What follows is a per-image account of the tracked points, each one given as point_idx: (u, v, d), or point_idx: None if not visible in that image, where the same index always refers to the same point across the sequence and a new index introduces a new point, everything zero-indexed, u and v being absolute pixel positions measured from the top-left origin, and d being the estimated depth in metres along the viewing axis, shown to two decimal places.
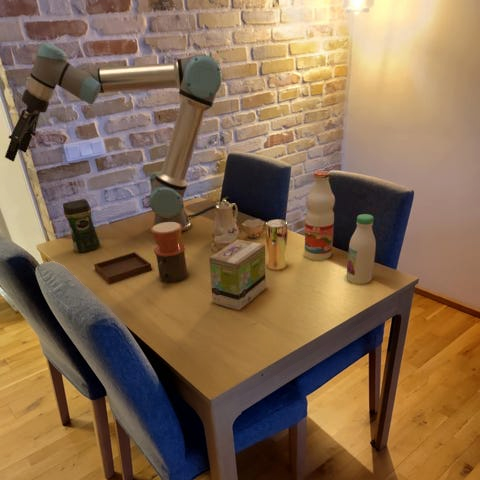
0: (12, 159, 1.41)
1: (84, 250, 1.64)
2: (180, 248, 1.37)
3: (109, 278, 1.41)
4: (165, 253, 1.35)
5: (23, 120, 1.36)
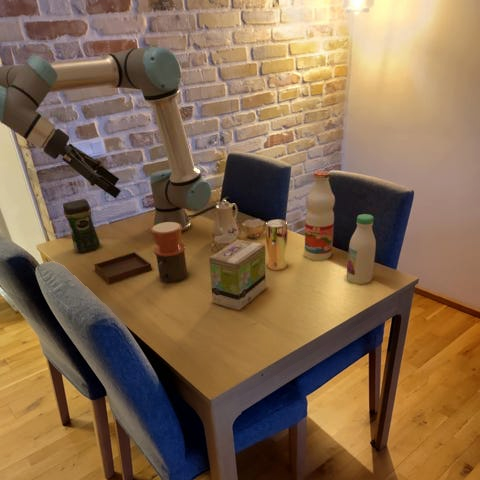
0: (118, 190, 1.22)
1: (84, 250, 1.64)
2: (180, 248, 1.37)
3: (109, 278, 1.41)
4: (165, 253, 1.35)
5: (73, 162, 1.15)
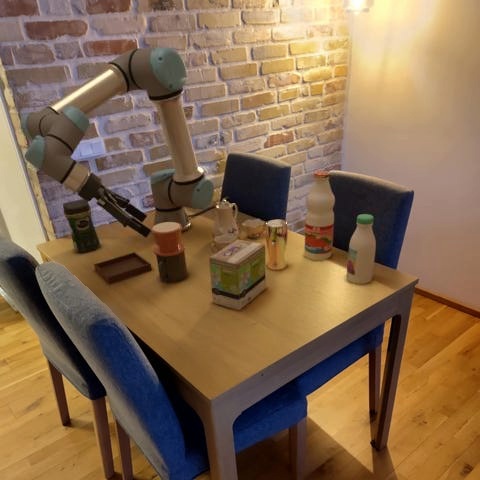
0: (149, 230, 1.26)
1: (84, 250, 1.64)
2: (180, 248, 1.37)
3: (109, 278, 1.41)
4: (165, 253, 1.35)
5: (107, 206, 1.19)
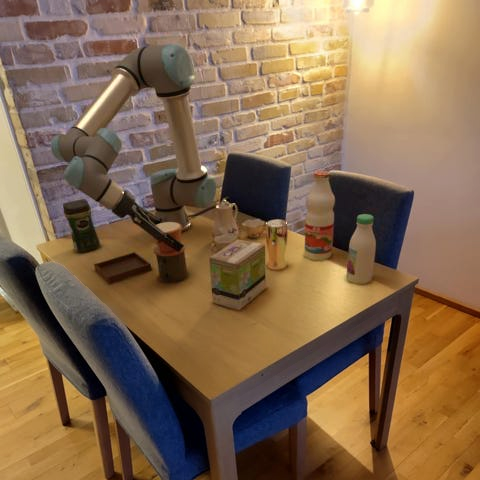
0: (181, 245, 1.33)
1: (84, 250, 1.64)
2: None
3: (109, 278, 1.41)
4: (165, 253, 1.35)
5: (143, 224, 1.25)
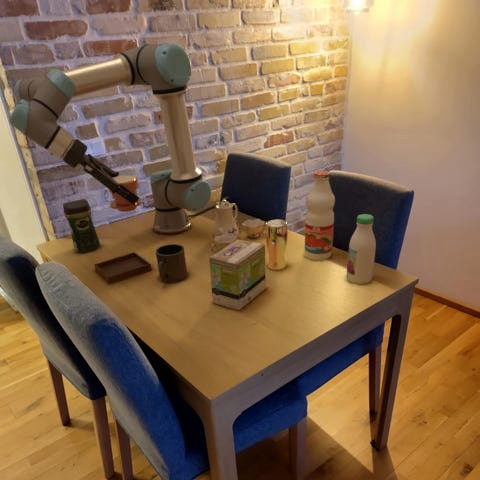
0: (137, 198, 1.29)
1: (84, 250, 1.64)
2: (137, 202, 1.34)
3: (109, 278, 1.41)
4: (121, 206, 1.31)
5: (95, 172, 1.21)
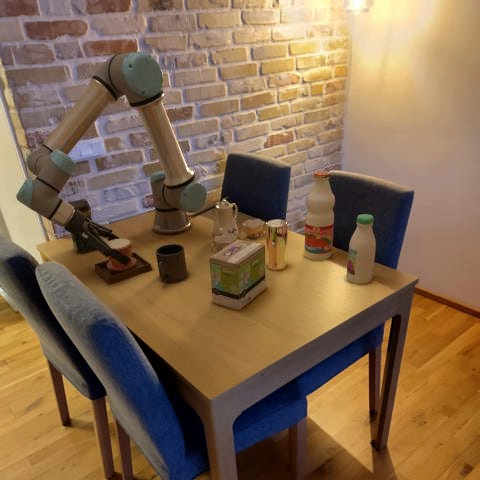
0: (128, 259, 1.41)
1: (84, 250, 1.64)
2: (131, 263, 1.47)
3: (109, 278, 1.41)
4: (116, 268, 1.44)
5: (90, 239, 1.34)
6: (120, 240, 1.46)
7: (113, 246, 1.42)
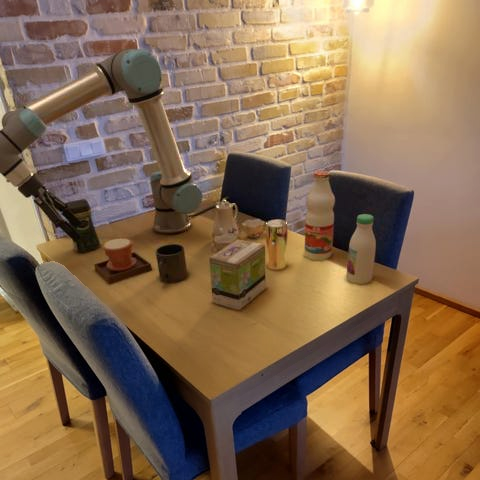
0: (79, 236, 1.37)
1: (84, 250, 1.64)
2: (131, 263, 1.47)
3: (109, 278, 1.41)
4: (116, 268, 1.44)
5: (43, 205, 1.29)
6: (120, 240, 1.46)
7: (113, 246, 1.42)
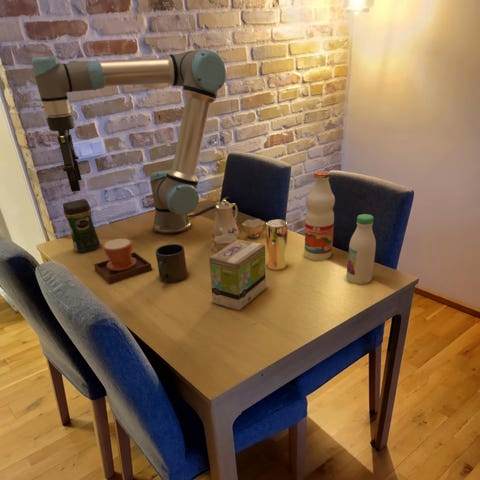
0: (78, 189, 1.38)
1: (84, 250, 1.64)
2: (131, 263, 1.47)
3: (109, 278, 1.41)
4: (116, 268, 1.44)
5: (64, 145, 1.31)
6: (120, 240, 1.46)
7: (113, 246, 1.42)
